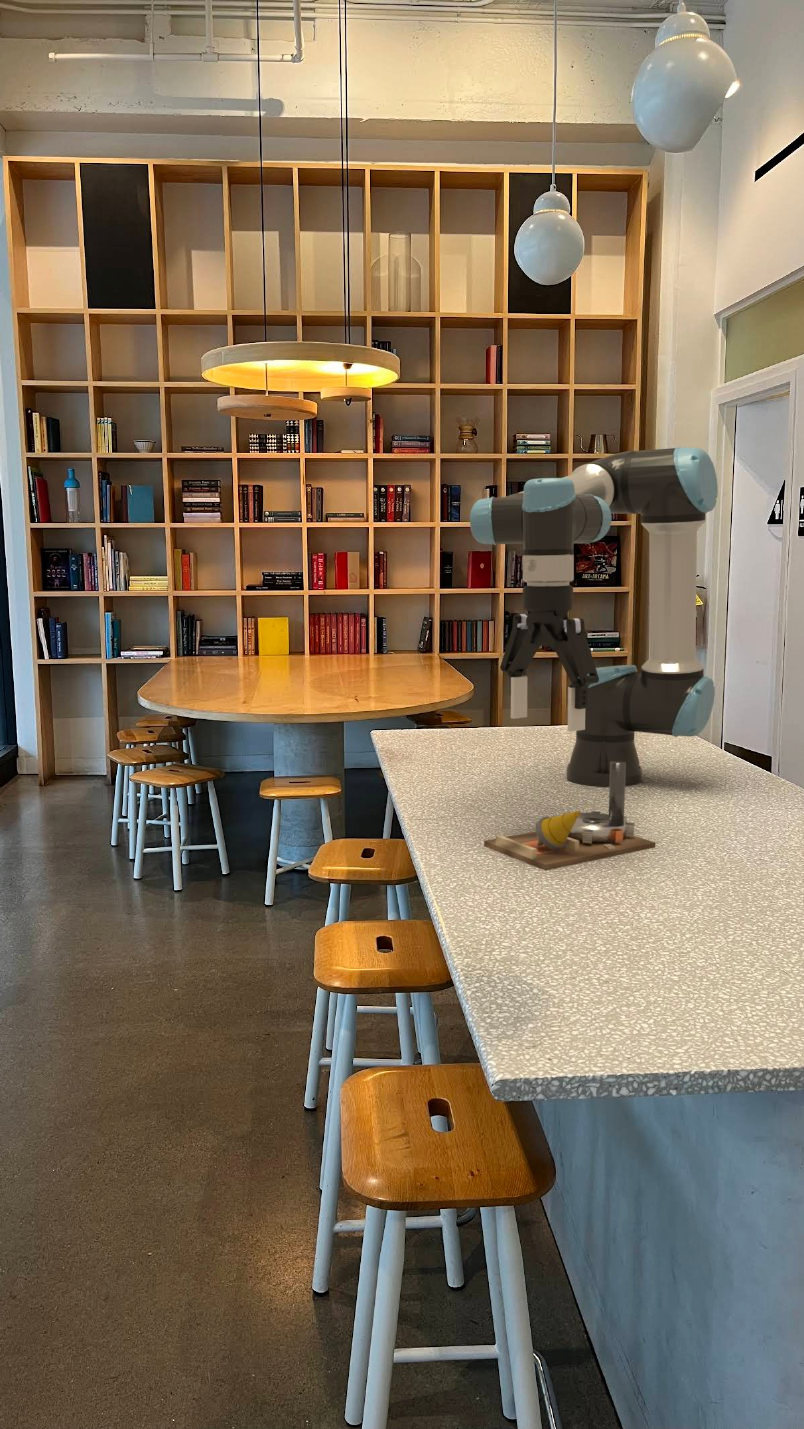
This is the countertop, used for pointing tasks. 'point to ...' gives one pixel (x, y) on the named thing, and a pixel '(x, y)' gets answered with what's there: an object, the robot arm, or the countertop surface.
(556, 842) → the drill bit
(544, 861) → the brown wooden board
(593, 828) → the sprocket
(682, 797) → the countertop surface
